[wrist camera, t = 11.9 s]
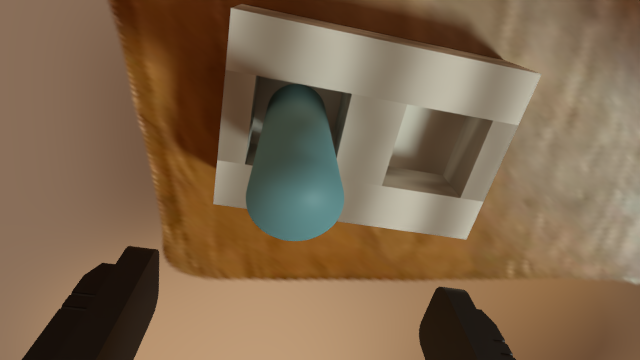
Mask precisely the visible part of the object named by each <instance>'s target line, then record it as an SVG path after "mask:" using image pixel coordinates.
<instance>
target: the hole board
mask: <svg viewBox="0 0 640 360" xmlns="http://www.w3.org/2000/svg"><path fill="white" fill-rule="evenodd" d="M540 76H541V74H540V73H537V72H535V71H532V70H529V69H527V68H524V67H521V66H519V65H516V64H513V63H510V62H508V61H505V60H501V59H496V58H492V57H487V56H482V55H478V54H473V53H468V52H464V51H459V50H455V49H450V48H445V47H441V46H436V45H431V44H427V43H422V42H417V41H413V40H408V39H403V38H399V37H394V36H389V35H385V34H380V33H375V32H371V31H366V30H362V29H357V28H352V27H348V26H343V25H338V24H334V23H329V22H324V21H320V20H315V19H310V18H306V17H301V16H296V15H292V14H287V13H282V12H278V11H273V10H269V9H264V8H259V7H255V6H250V5H245V4H240V5H237V6H235V7H232V8H231V13H230V24H229V36H228V47H227V58H226V69H225V80H224V91H223V102H222V113H221V125H220V136H219V147H218V158H217V169H216V180H215V191H214V202H213V204H218V205H225V206H232V207H239V208H246V209H247V206H246V191H247V186H248V182H249V178H250V174H251V170H252V166H253V162H254V158H255V154H256V150H257V147H258V143H259V139H260V135H261V131H262V127H263V123H264V119H265V115H266V111H267V107H268V103H269V101H270V99H271V97H272V96H273V94H274V93H275V92H276V91H277V90H279V89H280V88H282V87H284V86H286V85H290V84H302V85H306V86H308V87H310V88H312V89H313V90H315V91H316V92H317V93H318V94H319V95H320V97H321V98H322V100H323V102H324V105H325V110H326V114H327V119H328V123H329V128H330V132H331V137H332V141H333V146H334V150H335V155H336V159H337V164H338V168H339V173H340V177H341V182H342V186H343V191H344V205H343V209H342V212H341V215H340V216H339V218H338V220H337V221H339V222H346V223H353V224H360V225H367V226H375V227H382V228H389V229H396V230H403V231H410V232H417V233H425V234H432V235H439V236H446V237H453V238H460V239H467V237H468V234H469V232H470V230H471V228H472V226H473V224H474V221H475V219H476V217H477V215H478V213H479V210H480V208H481V206H482V204H483V202H484V199H485V197H486V195H487V193H488V191H489V188H490V186H491V184H492V182H493V180H494V177H495V175H496V173H497V171H498V169H499V166H500V164H501V162H502V160H503V158H504V155H505V153H506V151H507V149H508V147H509V144H510V142H511V140H512V138H513V136H514V133H515V131H516V129H517V127H518V125H519V122H520V120H521V118H522V116H523V114H524V111H525V109H526V107H527V105H528V103H529V101H530V98H531V96H532V94H533V92H534V90H535V87H536V85H537V83H538V81H539V79H540Z"/></svg>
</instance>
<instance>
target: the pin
mask: <svg viewBox="0 0 640 360" xmlns="http://www.w3.org/2000/svg"><path fill="white" fill-rule="evenodd" d="M343 205H344V191H343V186H342V182H341V177H340V173H339V168H338V164H337V159H336V155H335V150H334V146H333V141H332V137H331V132H330V128H329V123H328V119H327V114H326V110H325V105H324V102H323V100H322V98H321V97H320V95H319V94H318V93H317V92H316V91H315V90H313V89H312V88H310V87H308V86H306V85H302V84H290V85H286V86H284V87H282V88H280V89H279V90H277V91H276V92H275V93H274V94H273V96H272V97H271V99H270V101H269V103H268V107H267V111H266V115H265V119H264V123H263V127H262V131H261V135H260V139H259V143H258V147H257V150H256V154H255V158H254V162H253V166H252V170H251V174H250V178H249V182H248V186H247V191H246V206H247V210H248V212H249V215H250V217H251V218H252V220H253V221H254V223H255V224H256V225H257V226H258V227H259V228H260V229H261V230H263V231H264V232H265V233H267V234H269V235H271V236H273V237H275V238H279V239H282V240H287V241H302V240H308V239H312V238H314V237H317V236H319V235H321V234H323V233H324V232H326V231H327V230H329V229H330V228H331V227H332V226H333V225H334V224H335V223H336V221H337V220H338V218H339V216H340V215H341V212H342V209H343Z"/></svg>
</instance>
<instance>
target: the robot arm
mask: <svg viewBox="0 0 640 360" xmlns="http://www.w3.org/2000/svg"><path fill="white" fill-rule="evenodd" d="M158 291H159V251H158V250H156V249H148V248H140V247H132V246H128V247H127V248H126V249H125V250H124V252H123V254H122V255H121V257H120V258H119V260H118V261H117V263H116V264H107V263H102V264H100V265H99V266H97V267H96V268H94V269H93V270H91V271H90V272H88V273H87V274H85V275H84V276H83V277H82V279H81V280H80V281H79V283H78V284H77V285H76V287H75V288H74V289H73V291H72V294H71V295H69V296H68V298H67V299H66V300H65V302H64V303H63V305H62V307H61V309H59V310H58V311H57V313H56V314H55V316H54V317H53V318H52V319H51V321H50V322H49V323H48V325H47V326H46V328H45V329H44V330H43V332H42V333H41V334H40V336H39V337H38V338H37V340H36V341H35V342H34V344H33V345H32V347H31V348H30V349H29V351H28V352H27V353H26V355H25V356H24V358H23V359H22V360H133V359H134V357H135V355H136V353H137V351H138V348H139V346H140V344H141V341H142V339H143V337H144V335H145V332H146V330H147V328H148V326H149V323H150V321H151V319H152V317H153V314H154V311H155V308H156V304H157V299H158ZM419 339H420V345H421V348H422V351H423V354H424V357H425V360H516V359H515V358H513V356H512V352H511V351H510V349H509V347H508V345H507V344H505V340H504V338H503V337H502V335H501V333H500V331H499V330H498V328H497V326H496V324H494V322H493V321H492V320H491V319H490V318H489V317H488V316H487V315H486V314H485V313H484V312H483V311H482V310H479V309H476V307H475V305H474V304H473V302H472V300H471V298H470V296H469V294H468V293H467V292H466V291H465V290H461V289H454V288H445V287H438V288H437V289H436V290H435V292H434V294H433V297H432V299H431V301H430V304H429V306H428V308H427V310H426V312H425V314H424V317H423V319H422V321H421V324H420V329H419Z"/></svg>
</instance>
